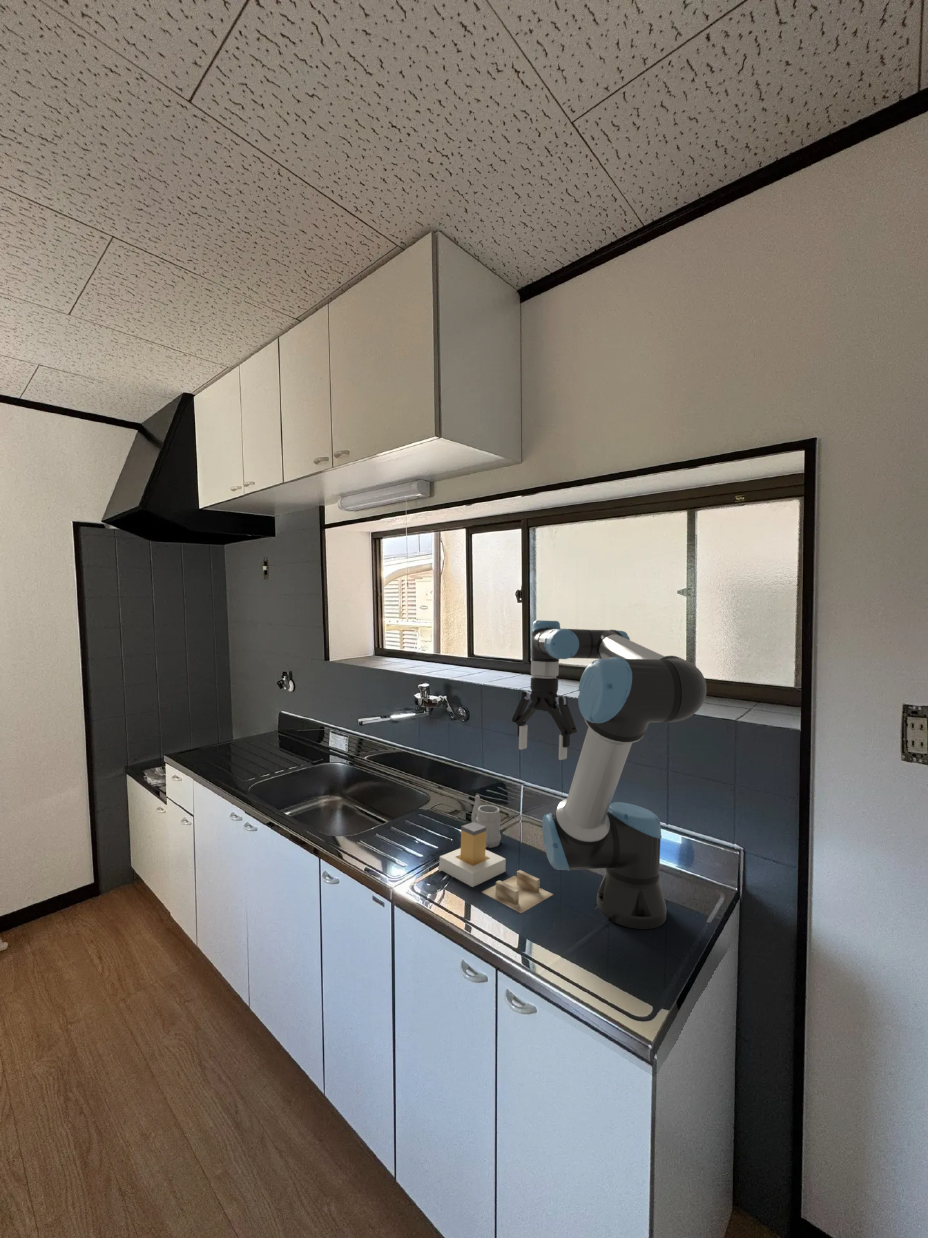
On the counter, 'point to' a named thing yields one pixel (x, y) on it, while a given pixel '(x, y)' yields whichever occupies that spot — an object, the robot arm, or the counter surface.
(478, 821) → the mug
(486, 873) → the port
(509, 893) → the beige plate with rail
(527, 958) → the counter surface
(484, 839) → the plug
